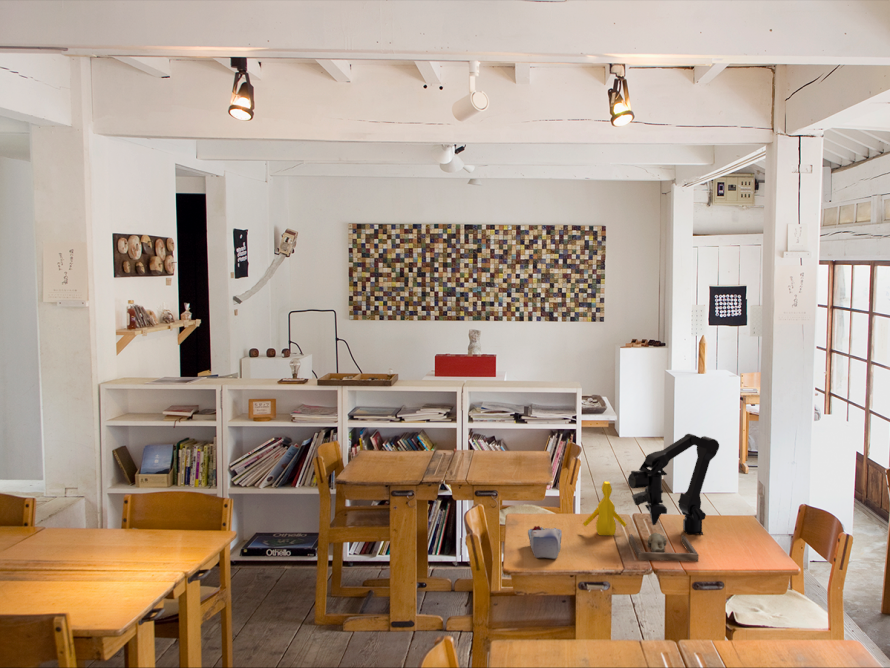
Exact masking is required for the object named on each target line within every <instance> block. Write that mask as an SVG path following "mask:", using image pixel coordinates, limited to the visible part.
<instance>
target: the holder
mask: <svg viewBox="0 0 890 668" xmlns="http://www.w3.org/2000/svg"><path fill="white" fill-rule="evenodd" d="M680 537H681V538H680V539H681V540H680V541H681V544H683V546H684V548H685V547H686V548H685V549H686V551H687V552H665V553H662V552H652V551H651V552H650V551H642V550H641V548H640V546H639V544H638V543H637V541H636V539H635V537H634V535H633V533H632V534H631V533H630V534H629V535H628V541H629V543H630V545H631V547H632V549H633V551H634V553H635V556H636V557H637V560H638V561H675V562H677V561H680V562H681V561H682V562H699V553H698V551H696V549H695V548H694V546H693V545H692V543H691V542H690V541H689V539H688V538H687V537H686V535H684V534H683V535H682V534H681V536H680Z"/></svg>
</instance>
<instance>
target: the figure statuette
mask: <svg viewBox="0 0 890 668" xmlns="http://www.w3.org/2000/svg"><path fill="white" fill-rule="evenodd" d="M601 492H602V494H603V497H602V498H601V499H600V501H599V503H598V504H597V507H596V508H595V510H594V511H593V512H592V513H591V515H590V516H589V517H587V518H586V520H584V522H583V523H582V525H583V526H584V527H588V525H589V524H590V523H591V522H592V521H593V520H594V519H595V518H597V519H596V522H595V530H596V532H597V534H598V535H599V536H614V535H615V534H616V530H617V524H616V521H617V522H618V523H619V524H620V525H622V527H624V528H626V526H627V523H626V522H625V521H624V520H623V518H622V517H621V516H620V515H619V514H618V513H617V512H616V508H615V504H614V502H613V501H612V500H611V497H610V496H611V494H612V492H613V489H612V484H611V483H610V481H603V483H602V485H601ZM615 520H616V521H615Z"/></svg>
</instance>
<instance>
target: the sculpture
mask: <svg viewBox="0 0 890 668" xmlns="http://www.w3.org/2000/svg"><path fill="white" fill-rule="evenodd" d="M667 544H668V543H667V539H666V537H665V536H664V535H663V534H661V533H658V532H654V533H651V534H650V535H649V536H648V538H647V547H648V548H650V550H651V552H662V553H666V552H665V551H666V550H665V547H666V546H667Z"/></svg>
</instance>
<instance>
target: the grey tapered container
mask: <svg viewBox="0 0 890 668" xmlns="http://www.w3.org/2000/svg"><path fill="white" fill-rule="evenodd" d="M562 535H563V534H562V529H559V528H557V527H554V528H550V527H547V528H546V527H543V526H541V527H540V525H537V526H536V525H535V526H533V528H529V529H528V530H527V536H528V539H529V545H530V547H531V550H532V553H533V556H534V557H535V558H539V559H540V558H544V559H545V558H546V559H551V560H552V559H553V560H555V559H557V558H558V556H559V554H560V551H561V548H562V546H561V543H562V537H563V536H562Z"/></svg>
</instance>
